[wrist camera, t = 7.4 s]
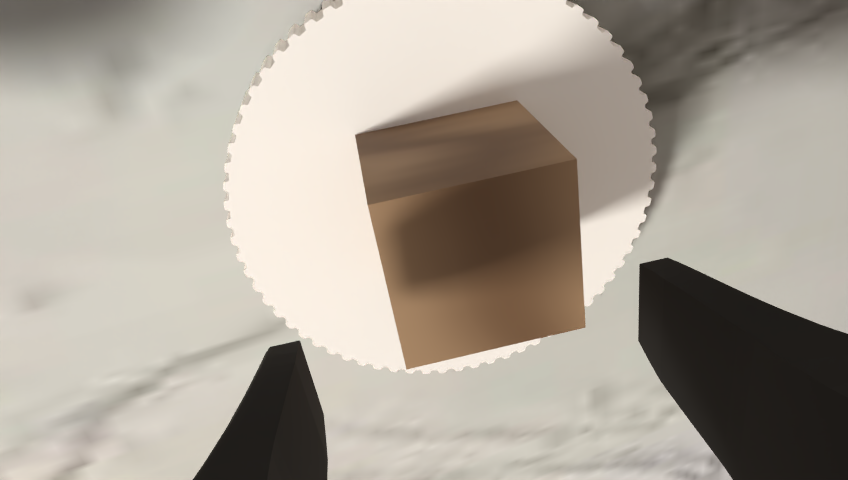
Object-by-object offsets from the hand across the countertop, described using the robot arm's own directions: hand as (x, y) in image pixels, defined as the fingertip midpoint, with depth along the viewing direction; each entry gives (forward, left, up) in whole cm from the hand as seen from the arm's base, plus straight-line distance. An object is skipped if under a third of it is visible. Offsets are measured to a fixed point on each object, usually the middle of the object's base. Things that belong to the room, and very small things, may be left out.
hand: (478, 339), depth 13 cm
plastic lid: (+1, -1, -11) cm, 11 cm away
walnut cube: (+1, 0, -8) cm, 8 cm away
